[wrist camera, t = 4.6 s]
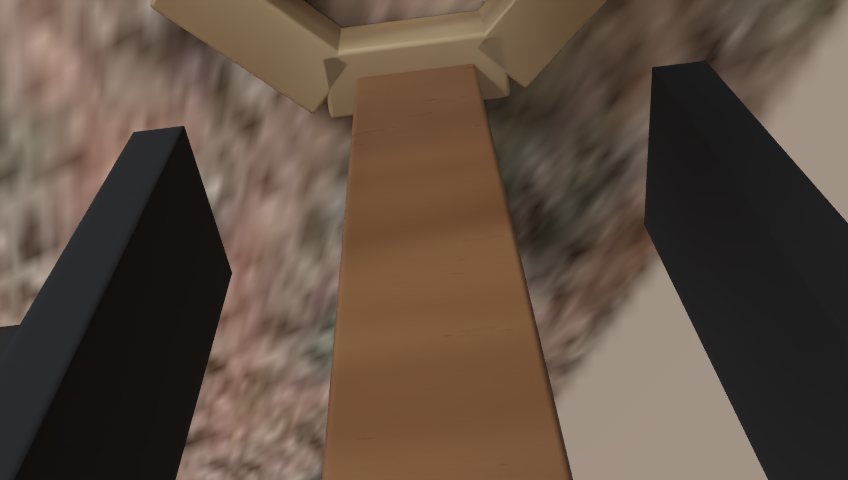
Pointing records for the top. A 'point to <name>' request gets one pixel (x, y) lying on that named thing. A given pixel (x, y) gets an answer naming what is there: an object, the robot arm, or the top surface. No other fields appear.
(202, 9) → the brown l-shaped piece
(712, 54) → the top surface
